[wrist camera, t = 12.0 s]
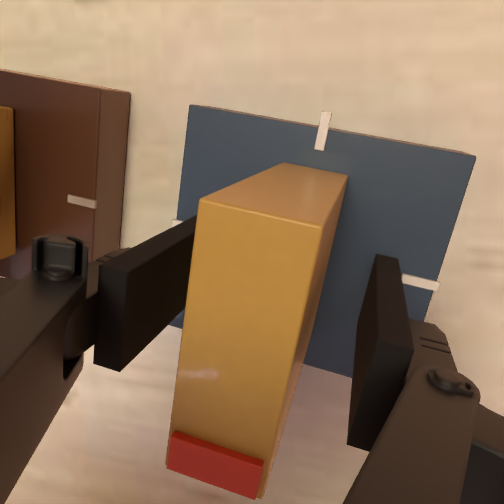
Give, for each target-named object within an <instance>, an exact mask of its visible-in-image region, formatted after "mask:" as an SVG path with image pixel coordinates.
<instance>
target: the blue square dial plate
mask: <svg viewBox="0 0 504 504" xmlns="http://www.w3.org/2000/svg"><path fill="white" fill-rule="evenodd" d="M331 115H332V113H329V112H323V111H322V114H321V119H320V124H319V126H316V125H310V124H305V123H299V122H294V121H288V120H283V119H277V118H271V117H266V116H260V115H255V114H249V113H244V112H238V111H233V110H227V109H221V108H216V107H210V106H200V105H190V106H189V113H188V122H187V131H186V140H185V149H184V158H183V166H182V175H181V184H180V193H179V202H178V211H177V219H173V220H172V227H174V226H176V225H178V224H180V223H182V222H183V221H185V220H187V219H189V218H191V217H193V216H195V215H197V213H198V205H199V200H200V198H203V197H205V196H207V195H209V194H212V193H214V192H216V191H219V190H221V189H223V188H226V187H228V186H230V185H233V184H235V183H237V182H240V181H242V180H244V179H246V178H249V177H251V176H253V175H256V174H258V173H260V172H263V171H265V170H267V169H270V168H272V167H274V166H276V165H279V164H281V163H284V162H285V163H290V164H295V165H300V166H305V167H310V168H315V169H320V170H325V171H330V172H335V173H340V174H345V175H348V180H347V185H346V189H345V193H344V197H343V202H342V206H341V210H340V214H339V219H338V223H337V227H336V231H335V236H334V240H333V244H332V249H331V253H330V257H329V261H328V266H327V270H326V274H325V278H324V283H323V287H322V291H321V295H320V300H319V304H318V308H317V312H316V317H315V321H314V325H313V329H312V334H311V337H310V341H309V344H308V347H307V351H306V354H305V358H304V361H303V364H306V365H309V366H313V367H316V368H320V369H323V370H327V371H330V372H334V373H337V374H341V375H344V376H347V377H351V378H353V366H354V354H355V342H356V330H357V322H358V318H359V314H360V311H361V307H362V303H363V299H364V296H365V292H366V288H367V285H368V281H369V277H370V274H371V270H372V266H373V262H374V259H375V255H376V254H381V255H385V256H389V257H394V258H398V260H399V266H400V271H401V277H402V282H403V288H404V294H405V299H406V305H407V310H408V316H409V318H411V319H415V320H419V321H424V318H425V315H426V312H427V309H428V306H429V303H430V300H431V297H432V294H433V291H438V288H439V285H440V282H438V281H437V278H438V275H439V272H440V269H441V266H442V263H443V260H444V256H445V253H446V250H447V247H448V244H449V241H450V238H451V235H452V232H453V229H454V225H455V222H456V219H457V216H458V213H459V210H460V207H461V204H462V201H463V198H464V195H465V191H466V188H467V185H468V182H469V179H470V176H471V173H472V170H473V167H474V164H475V161H476V156H474V155H471V154H468V153H465V152H461V151H455V150H449V149H444V148H438V147H433V146H427V145H422V144H416V143H411V142H405V141H399V140H394V139H388V138H383V137H377V136H372V135H366V134H360V133H355V132H349V131H344V130H338V129H333V128H329V125H330V120H331ZM184 314H185V309H184V310H183V311H182V312H181V313H180V314H179V315H178V316H177V317H176V318H175V319H174V320H173V321H171V322H170V323H169V324H168V325H171V326H174V327H178V328H181V329H183V322H184Z"/></svg>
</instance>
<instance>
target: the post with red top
mask: <svg viewBox="0 0 504 504" xmlns="http://www.w3.org/2000/svg"><path fill="white" fill-rule="evenodd" d="M347 180H348V175H345V174H340V173H335V172H330V171H325V170H320V169H315V168H310V167H305V166H300V165H295V164H290V163H285V162H284V163H281V164H279V165H276V166H274V167H272V168H270V169H267V170H265V171H263V172H260V173H258V174H256V175H253V176H251V177H249V178H246V179H244V180H242V181H240V182H237V183H235V184H233V185H230V186H228V187H226V188H223V189H221V190H219V191H216V192H214V193H212V194H209V195H207V196H205V197H203V198H200V200H199V205H198V213H197V221H196V229H195V236H194V244H193V252H192V260H191V268H190V275H189V283H188V291H187V299H186V307H185V314H184V322H183V330H182V338H181V345H180V353H179V361H178V369H177V377H176V384H175V392H174V400H173V408H172V415H171V423H170V431H169V439H168V447H167V454H166V463H165V464H166V465H167V469H170V470H172V471H175V472H178V473H181V474H184V475H186V476H189V477H192V478H195V479H198V480H200V481H203V482H206V483H209V484H212V485H214V486H217V487H220V488H223V489H225V490H228V491H231V492H234V493H237V494H239V495H242V496H245V497H248V498H251V499H253V500H255V499H256V498H259V499H261V498H262V497H263V496H264V492H265V489H266V485H267V482H268V479H269V475H270V472H271V469H272V465H273V462H274V459H275V455H276V452H277V448H278V445H279V442H280V438H281V435H282V432H283V428H284V425H285V422H286V418H287V415H288V411H289V408H290V405H291V401H292V398H293V395H294V391H295V388H296V384H297V381H298V378H299V374H300V371H301V368H302V364H303V361H304V358H305V354H306V351H307V347H308V344H309V341H310V337H311V334H312V329H313V325H314V321H315V317H316V312H317V308H318V304H319V300H320V295H321V291H322V287H323V283H324V278H325V274H326V270H327V266H328V261H329V257H330V253H331V249H332V244H333V240H334V236H335V231H336V227H337V223H338V219H339V214H340V210H341V206H342V202H343V197H344V193H345V189H346V185H347Z"/></svg>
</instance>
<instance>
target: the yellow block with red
mask: <svg viewBox="0 0 504 504" xmlns="http://www.w3.org/2000/svg"><path fill="white" fill-rule="evenodd" d="M14 254H16V229H15V175H14V121H13V108H10V107H5V106H0V259H3V258H6V257H9V256H11V255H14Z"/></svg>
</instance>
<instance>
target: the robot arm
mask: <svg viewBox="0 0 504 504" xmlns="http://www.w3.org/2000/svg"><path fill="white" fill-rule="evenodd" d="M196 221H197V215H195V216H193V217H191V218H189V219H187V220H185V221H183V222H182V223H180V224H178V225H176V226H174V227H172V228H170V229H168V230H166V231H164V232H162V233H160V234H158V235H156V236H154V237H152V238H151V239H149V240H147V241H145V242H143V243H141V244H139V245H137V246H135V247H133V248H124V249H119V250H114V251H112V252H110V253H108V254H106V255H104V257H103V256H102V257H100V258H98V259H96V261H92V262H90V263H88V257H89V243H88V242H87V240H85V239H83V238H80V237H77V236H72V235H64V234H48V235H42V236H38V237H35V238H33V239H32V271H31V272H29V273H28V274H27V275H26V276H25V277H23V278H22V279H21V280H20V279H11V278H2V277H0V504H4V503H5V502H6V500H7V498H8V496H9V495H10V493H11V491H12V489H13V488H14V486H15V484H16V483H17V481H18V479H19V477H20V476H21V474H22V472H23V470H24V469H25V467H26V465H27V464H28V462H29V460H30V458H31V457H32V455H33V453H34V451H35V450H36V448H37V446H38V444H39V443H40V441H41V439H42V438H43V436H44V434H45V432H46V431H47V429H48V427H49V425H50V424H51V422H52V420H53V419H54V417H55V415H56V413H57V412H58V410H59V408H60V406H61V405H62V403H63V401H64V400H65V398H66V396H67V394H68V393H69V391H70V389H71V387H72V386H73V384H74V382H75V380H76V379H77V377H78V375H79V374H80V372H81V370H82V367H83V359H84V352H85V351H86V350H87V349H88V348H90V347H91V346H92V345H94V361H93V364H96V365H99V366H102V367H106V368H109V369H112V370H115V371H118V372H120V371H121V370H122V369H123V368H124V367H125V366H127V365H128V364H129V363H130V362H131V361H132V360H133V359H134V358H135V357H136V356H137V355H138V354H139V353H140V352H141V351H142V350H143V349H144V348H145V347H146V346H147V345H148V344H149V343H150V342H151V341H152V340H153V339H154V338H155V337H156V336H157V335H158V334H159V333H160V332H161V331H162V330H163V329H164V328H165V327H166V326H167V325H168V324H169V323H170V322H171V321H173V320H174V319H175V318H176V317H177V316H178V315H179V314H180V313H181V312H182V311H183V310H184V309H185V307H186V299H187V291H188V283H189V275H190V268H191V260H192V252H193V244H194V236H195V229H196ZM480 397H481V396H480V392H479V389H478V388H477V387H476V385H475V384H474V383H473V382H472V381H471V380H469V379H468V378H466V377H465V376H464V375H462V374H460V373H458V372H457V369H456V366H455V363H454V360H453V357H452V354H451V351H450V348H449V346H448V342H447V339H446V336H445V334H444V333H443V332H442V331H441V330H440V329H439V328H438V327H437V326H436V325H434V324H430V323H426V322H423V321H419V320H415V319H411V318H409V316H408V310H407V305H406V299H405V294H404V288H403V282H402V277H401V271H400V266H399V260H398V258H394V257H389V256H385V255H381V254H376V255H375V259H374V262H373V266H372V270H371V274H370V277H369V281H368V285H367V288H366V292H365V296H364V299H363V303H362V307H361V311H360V314H359V318H358V322H357V330H356V342H355V354H354V366H353V378H352V389H351V401H350V413H349V425H348V436H347V445H350V446H353V447H356V448H359V449H362V450H366V451H369V452H370V453H369V454H368V456H367V458H366V460H365V462H364V464H363V466H362V468H361V470H360V472H359V473H358V475H357V477H356V479H355V481H354V483H353V485H352V487H351V489H350V490H349V492H348V494H347V496H346V498H345V500H344V502H343V504H504V417H503V416H501V415H499V414H497V413H495V412H493V411H491V410H489V409H487V408H486V407H484V406H482V405H481V404H479V402H480Z"/></svg>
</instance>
